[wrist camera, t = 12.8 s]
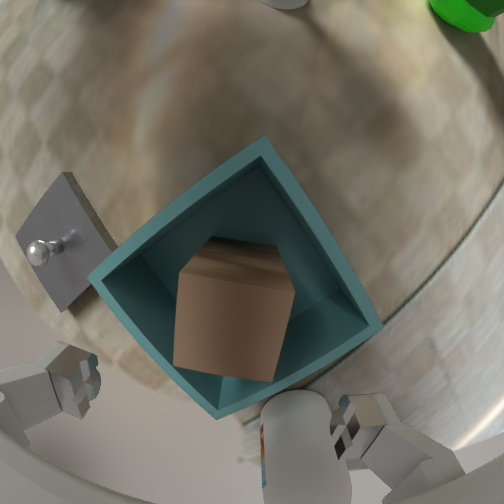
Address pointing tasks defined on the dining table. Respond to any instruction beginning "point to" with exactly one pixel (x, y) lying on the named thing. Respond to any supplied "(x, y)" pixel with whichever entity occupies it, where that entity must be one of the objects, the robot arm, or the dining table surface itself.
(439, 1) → the plastic bottle
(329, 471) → the milk bottle
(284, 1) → the chalice
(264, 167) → the bin
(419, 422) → the dining table surface
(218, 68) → the dining table surface
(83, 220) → the gray square plate
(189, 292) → the brown wooden block
